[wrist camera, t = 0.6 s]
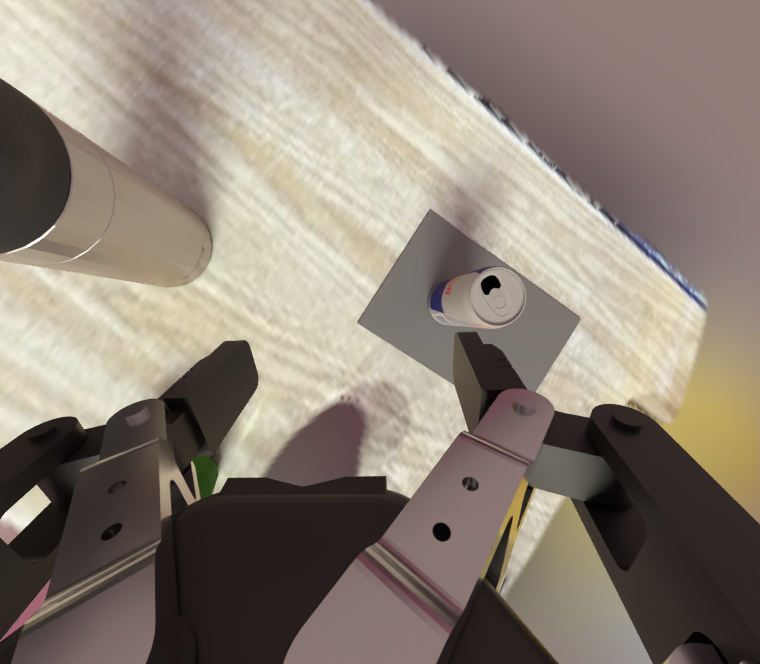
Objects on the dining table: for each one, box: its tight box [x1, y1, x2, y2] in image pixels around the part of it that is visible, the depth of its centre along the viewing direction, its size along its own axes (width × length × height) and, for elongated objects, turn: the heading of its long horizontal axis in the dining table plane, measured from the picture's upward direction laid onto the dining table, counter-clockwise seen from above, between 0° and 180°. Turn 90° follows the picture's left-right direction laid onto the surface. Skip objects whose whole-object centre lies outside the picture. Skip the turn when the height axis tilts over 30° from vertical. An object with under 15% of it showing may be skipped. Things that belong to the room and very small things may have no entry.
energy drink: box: [428, 266, 526, 329], centre depth 31 cm, size 5×5×12 cm
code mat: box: [358, 210, 581, 392], centre depth 37 cm, size 24×16×1 cm, turn 57°
